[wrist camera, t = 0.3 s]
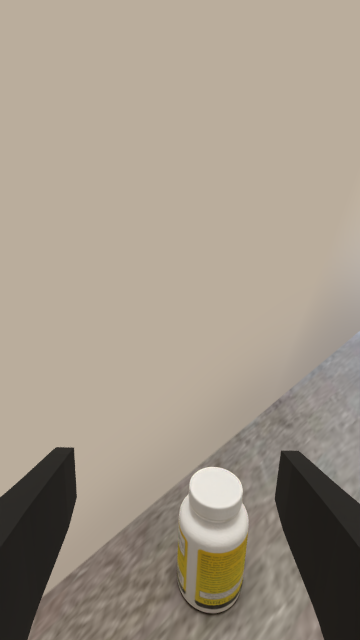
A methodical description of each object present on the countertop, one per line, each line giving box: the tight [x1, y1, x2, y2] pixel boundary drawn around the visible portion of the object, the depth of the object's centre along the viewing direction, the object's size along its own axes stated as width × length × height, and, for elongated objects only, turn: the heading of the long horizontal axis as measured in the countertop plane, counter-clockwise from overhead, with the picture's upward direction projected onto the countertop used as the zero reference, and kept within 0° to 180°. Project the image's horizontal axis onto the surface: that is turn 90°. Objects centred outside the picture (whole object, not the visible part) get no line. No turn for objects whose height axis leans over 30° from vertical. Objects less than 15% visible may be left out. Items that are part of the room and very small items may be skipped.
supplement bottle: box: [177, 467, 249, 613], centre depth 26 cm, size 5×5×10 cm
